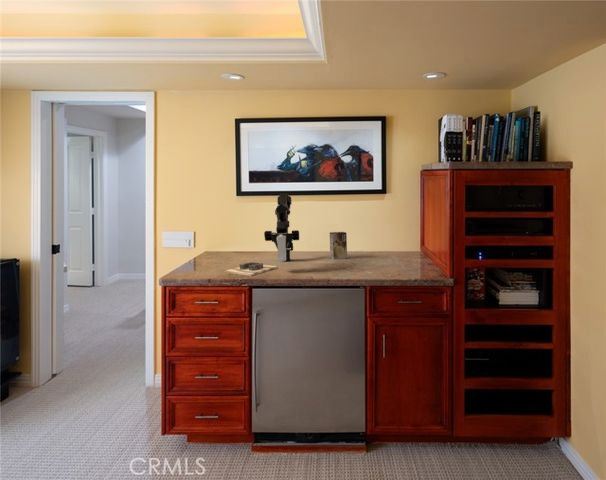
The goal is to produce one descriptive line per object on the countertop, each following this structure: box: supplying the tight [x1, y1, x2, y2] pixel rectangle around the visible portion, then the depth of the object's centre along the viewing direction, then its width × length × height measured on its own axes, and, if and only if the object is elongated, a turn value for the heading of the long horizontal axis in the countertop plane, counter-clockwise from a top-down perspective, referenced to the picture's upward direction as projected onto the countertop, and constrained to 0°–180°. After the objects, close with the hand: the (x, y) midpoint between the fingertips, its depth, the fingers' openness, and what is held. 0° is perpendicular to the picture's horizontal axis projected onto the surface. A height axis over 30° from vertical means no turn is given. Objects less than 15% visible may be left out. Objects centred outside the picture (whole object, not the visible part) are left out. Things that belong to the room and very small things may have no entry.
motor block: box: [277, 235, 287, 263], centre depth 253 cm, size 6×4×14 cm
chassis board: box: [223, 261, 279, 277], centre depth 261 cm, size 24×18×4 cm
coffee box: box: [329, 231, 348, 260], centre depth 293 cm, size 9×6×16 cm
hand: (281, 248), depth 252 cm, fingers closed on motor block, 4 cm apart
